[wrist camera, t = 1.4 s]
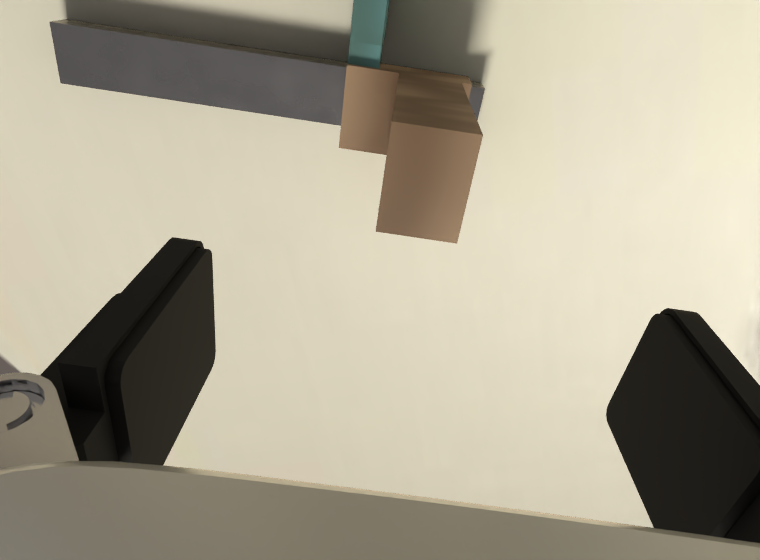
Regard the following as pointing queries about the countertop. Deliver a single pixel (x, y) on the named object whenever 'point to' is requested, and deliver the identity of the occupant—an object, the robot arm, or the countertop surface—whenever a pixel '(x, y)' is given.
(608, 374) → the countertop surface
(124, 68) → the rail
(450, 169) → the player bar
